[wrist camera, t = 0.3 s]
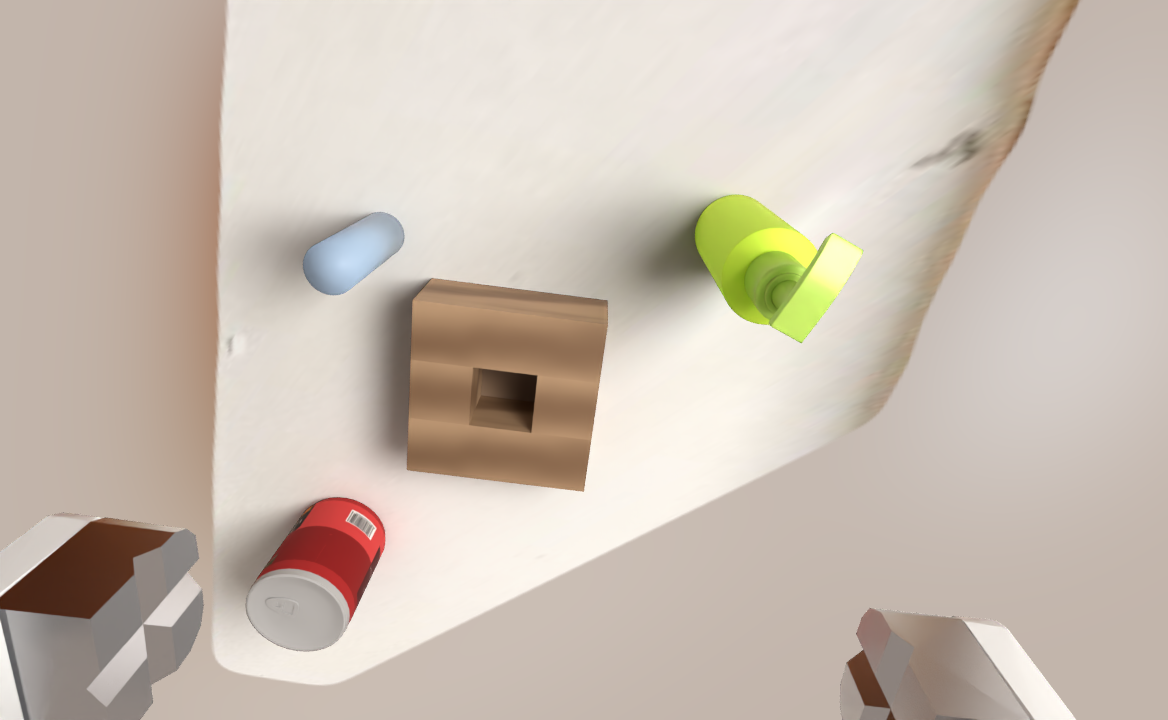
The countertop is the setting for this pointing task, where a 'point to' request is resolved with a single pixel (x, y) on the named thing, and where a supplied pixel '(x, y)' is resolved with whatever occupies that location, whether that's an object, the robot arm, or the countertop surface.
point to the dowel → (352, 253)
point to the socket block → (504, 383)
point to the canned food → (317, 576)
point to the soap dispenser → (771, 265)
